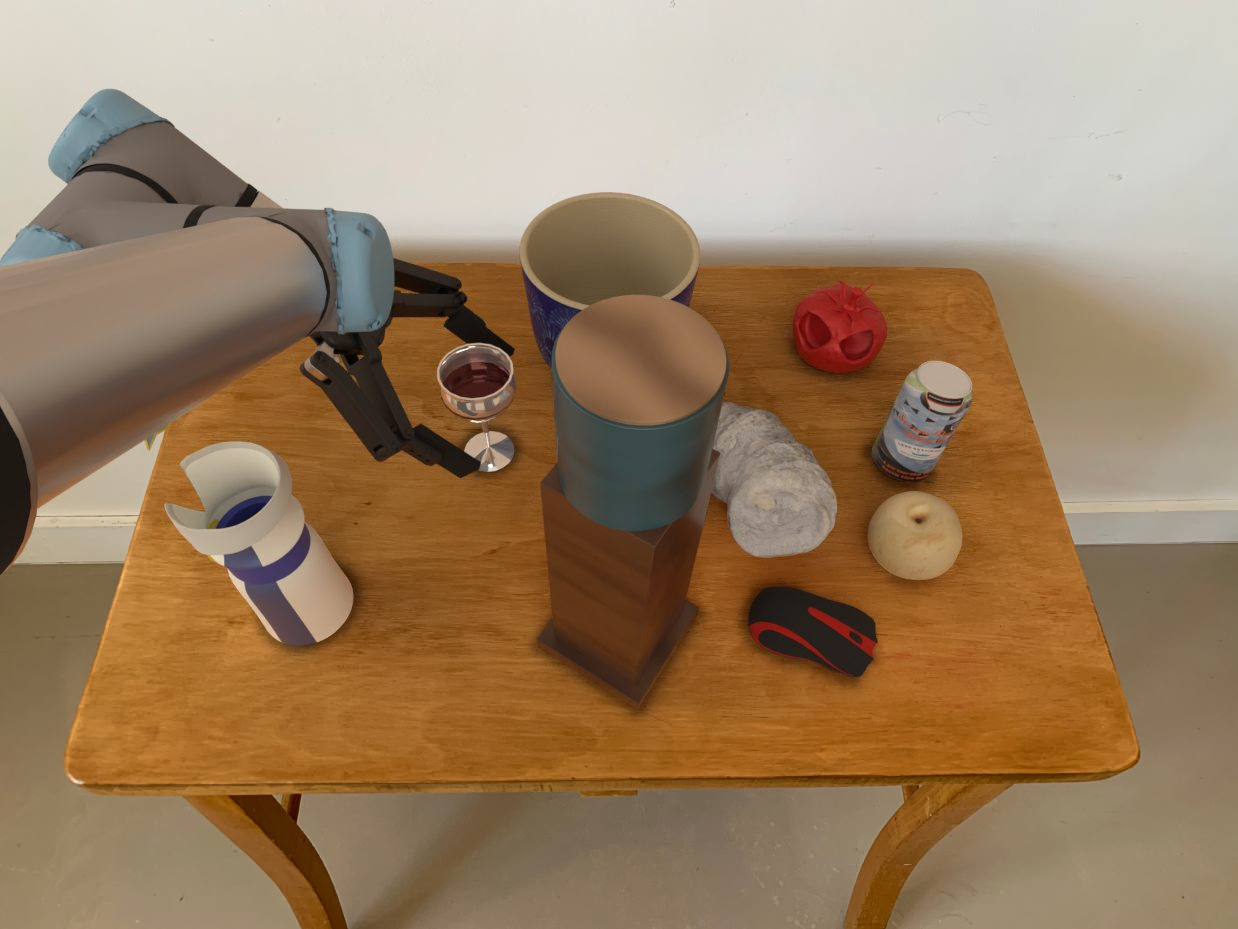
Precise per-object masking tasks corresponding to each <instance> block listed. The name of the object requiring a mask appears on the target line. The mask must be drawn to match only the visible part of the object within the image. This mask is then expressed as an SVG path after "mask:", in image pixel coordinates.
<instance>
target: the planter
mask: <svg viewBox="0 0 1238 929" xmlns="http://www.w3.org/2000/svg"><path fill="white" fill-rule="evenodd" d="M518 248H519V250H518V251H519V262H520V267H521V274H522V278H523V284H524V290H525V295H526V301H527V306H528V312H529V318H530V323H531V328H532V332H533V335H534V340H535V343H536V346H537V349H538V351H539V353H540V355H541V357H542V358H543V360H544V361H545V363H546V365H547V366H548V367H549V369H551V370H552V364H551V362H552V351H553V346H554V344H555V341H556V339H557V337H558V335H559V333H560V332H561V330H562V329H563V328H564V326H565V325H566V324H567V323H568V322H569V321H570V320H571V319H572V318H573V317H574V316H575V315H576V314H578V313H579V312H580V311H582V310H583V309H585V308H587V307H588V306H590V305H592V304H594V303H597V302H599V301H602V300H605V299H609V298H612V297H618V296H624V295H649V296H657V297H662V298H666V299H669V300H673V301H676V302H678V303H681V304H683V305H685V306H687V307H689V308H691V302H692V299H693V294H694V289H695V285H696V282H697V277H698V273H699V269H700V264H701V246H700V243H699V239H698V238H697V235H696V234H695V231H694V230H693V229H692V227H691V226H690V225H689V224H688V223H687V221H686V220H685V219H684V218H683V217H682V216H681V215H679V214H678V213H677V212H675V211H674V210H673V209H671V208H669V207H668V206H667V205H664V204H662V203H660V202H658V201H655V200H653V199H650V198H647V197H645V196H640V195H637V194H632V193H625V192H614V191H613V192H610V191H604V192H603V191H601V192H600V191H599V192H589V193H583V194H579V195H575V196H570V197H567V198H565V199H562V200H560V201H557V202H555V203H553V204H552V205H550V206H548V207H546V208H545V209H544V210H541V211H540V212H539V213H538V214H537V215H536V216H534V218H533V219H532V220H531V221H530V223H529V224H528V225H527V227H526V228H525V230H524V231H523V233H522V236H521V239H520V242H519V247H518Z"/></svg>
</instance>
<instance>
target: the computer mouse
mask: <svg viewBox="0 0 1238 929" xmlns="http://www.w3.org/2000/svg"><path fill="white" fill-rule="evenodd" d="M748 628H749V631H750V634H751V636H752V638H753V639H754V641H755V642H756V643H757V644H758V645H759V646H760V647H761V648H763V649H765V650H766V651H769V652H771V653H773V654H775V655H778V656H782V657H786V658H790V659H795V660H801V661H809V662H812V663H815V664H817V665H818V666H821V667H822V668H825V669H826V670H829V671H831V672H834V673H837V674H841V675H844V676H846V677H851V678H860V677H862V676H863V675H864V674H865V671H866V670H867V668H868V667H869V666H870V665H871V663H872V662H873V661H874V649H875V647H876V645H877V644H878V642H879V641H878V636H877V630H876V622H875V620H874V618H872V617H871V616H870V615H868V614H867V613H866V612H865V611H863V610H861V609H859V608H857V607H856V606H853V605H850V604H848V603H845V602H842V601H841V602H840V601H838V600H833V599H830V598H827V597H823V596H820V595H818V594H815V593H812V592H809V591H806V590H803V589H801V588H797V587H793V586H785V585H782V586H781V585H775V586H773V585H772V586H767V587H765V588H763V589H761V591H759V593H757V595H756V596H755V597H754V599H752V602H751V605H750V607H749V611H748Z"/></svg>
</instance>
